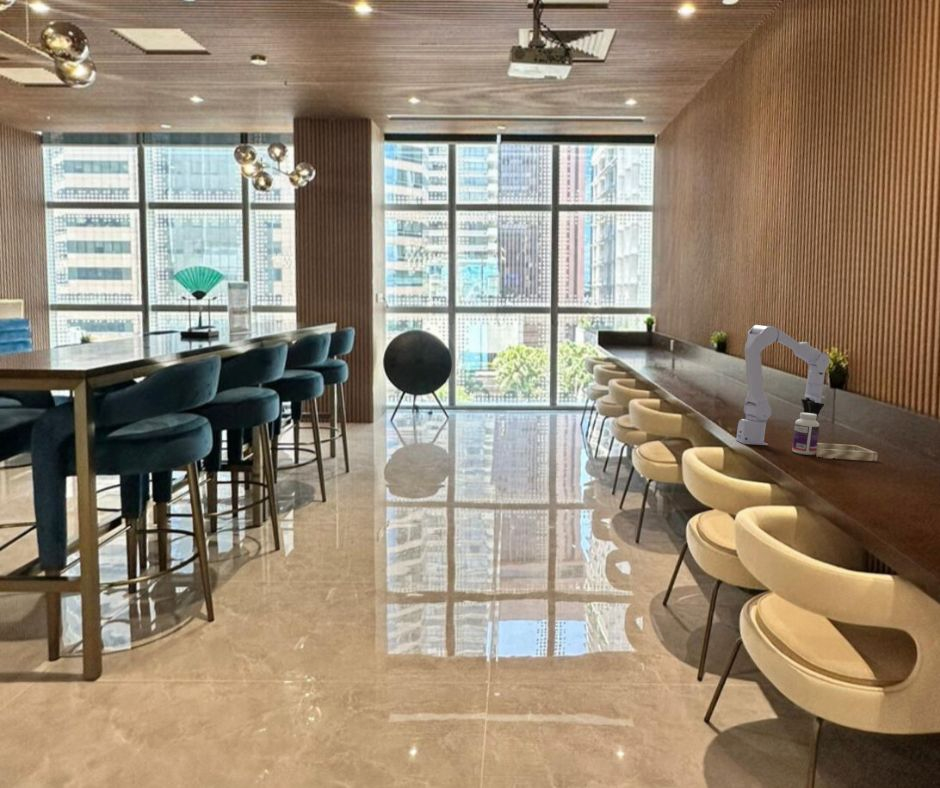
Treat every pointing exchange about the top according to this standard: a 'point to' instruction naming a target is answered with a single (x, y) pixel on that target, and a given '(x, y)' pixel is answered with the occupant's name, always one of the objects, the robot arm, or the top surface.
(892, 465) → the top surface
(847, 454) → the cradle
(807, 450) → the pill bottle
